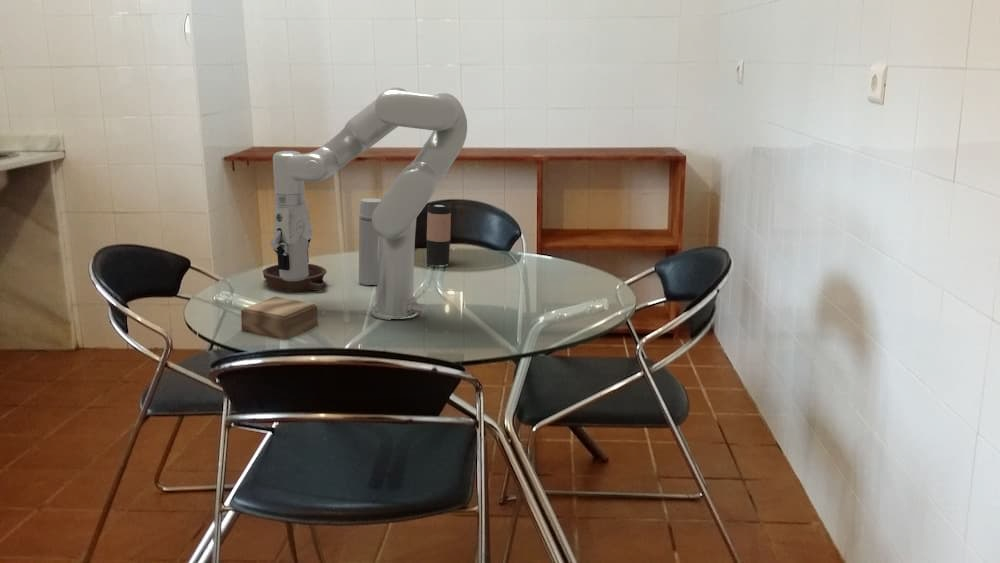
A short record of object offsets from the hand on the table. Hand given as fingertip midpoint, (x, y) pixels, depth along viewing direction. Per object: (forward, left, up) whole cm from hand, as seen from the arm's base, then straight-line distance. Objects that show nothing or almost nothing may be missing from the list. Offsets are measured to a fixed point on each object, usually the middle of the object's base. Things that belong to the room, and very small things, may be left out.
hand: (293, 265), depth 228 cm
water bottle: (-4, -33, -12) cm, 35 cm away
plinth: (-7, +15, -12) cm, 20 cm away
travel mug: (-10, -63, -12) cm, 65 cm away
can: (0, 0, -4) cm, 4 cm away
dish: (+13, -18, -12) cm, 25 cm away
